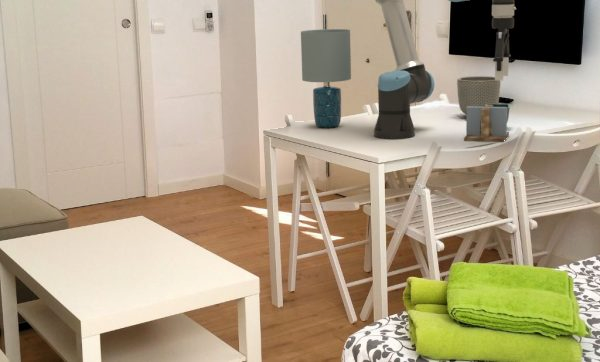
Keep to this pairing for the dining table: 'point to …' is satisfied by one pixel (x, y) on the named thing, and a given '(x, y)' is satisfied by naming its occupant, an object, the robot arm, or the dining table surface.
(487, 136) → the jig
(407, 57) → the robot arm
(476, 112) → the slotted board
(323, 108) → the lamp
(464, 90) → the planter
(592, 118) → the dining table surface
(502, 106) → the flower pot
